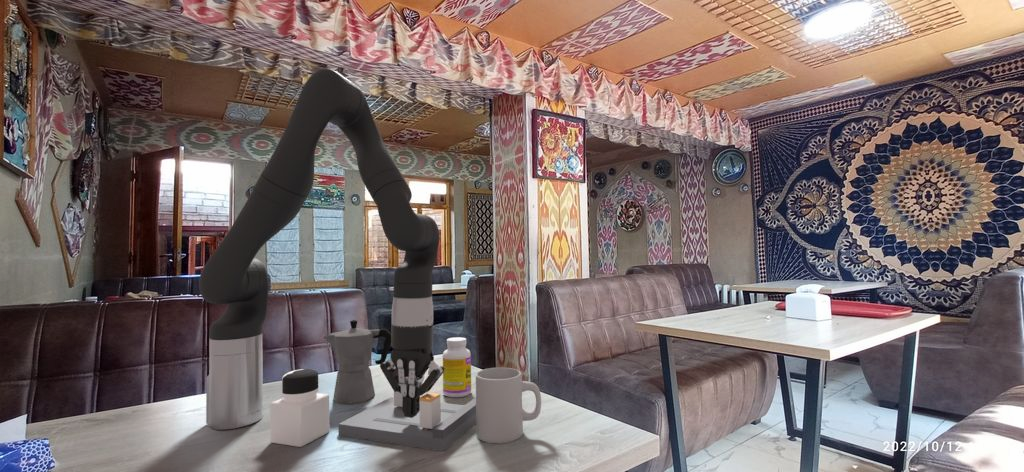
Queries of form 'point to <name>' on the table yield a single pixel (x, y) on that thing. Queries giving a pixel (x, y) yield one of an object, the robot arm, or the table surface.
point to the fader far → (398, 399)
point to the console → (410, 425)
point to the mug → (502, 404)
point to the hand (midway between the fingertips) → (411, 415)
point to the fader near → (430, 410)
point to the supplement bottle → (456, 368)
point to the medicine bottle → (299, 410)
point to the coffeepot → (356, 362)
